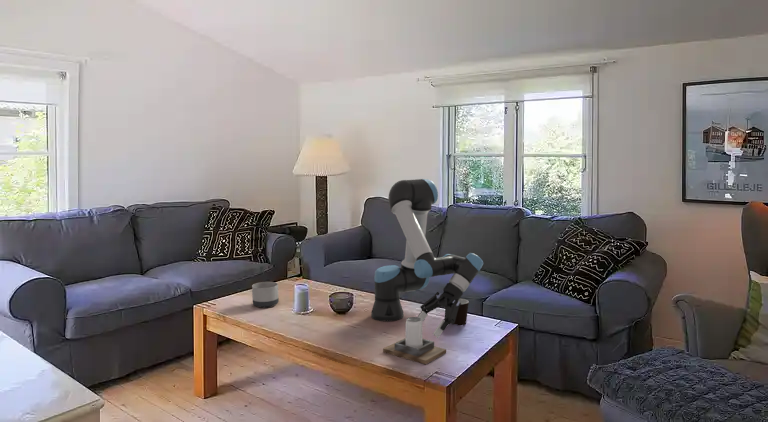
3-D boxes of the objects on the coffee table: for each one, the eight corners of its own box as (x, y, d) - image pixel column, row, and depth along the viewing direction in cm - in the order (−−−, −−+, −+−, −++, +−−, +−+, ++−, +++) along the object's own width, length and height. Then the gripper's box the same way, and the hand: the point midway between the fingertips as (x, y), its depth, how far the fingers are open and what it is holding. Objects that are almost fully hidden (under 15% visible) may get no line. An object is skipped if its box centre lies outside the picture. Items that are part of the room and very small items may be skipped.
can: (411, 345, 218) (411, 315, 216) (425, 348, 214) (425, 318, 212) (402, 350, 212) (402, 319, 211) (416, 353, 209) (416, 322, 207)
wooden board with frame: (383, 352, 214) (382, 342, 214) (404, 341, 225) (404, 332, 225) (425, 364, 202) (425, 354, 202) (446, 352, 213) (446, 343, 212)
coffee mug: (468, 326, 243) (468, 304, 242) (448, 325, 245) (448, 303, 243) (469, 318, 254) (469, 297, 253) (450, 317, 256) (450, 296, 255)
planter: (275, 308, 273) (275, 288, 271) (250, 309, 273) (249, 288, 271) (281, 301, 285) (280, 281, 284) (256, 301, 285) (255, 281, 284)
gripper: (481, 300, 212) (450, 345, 206) (442, 286, 233) (413, 327, 227) (470, 289, 208) (438, 335, 203) (432, 275, 230) (402, 316, 224)
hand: (425, 330), depth 215 cm, fingers open, 13 cm apart
